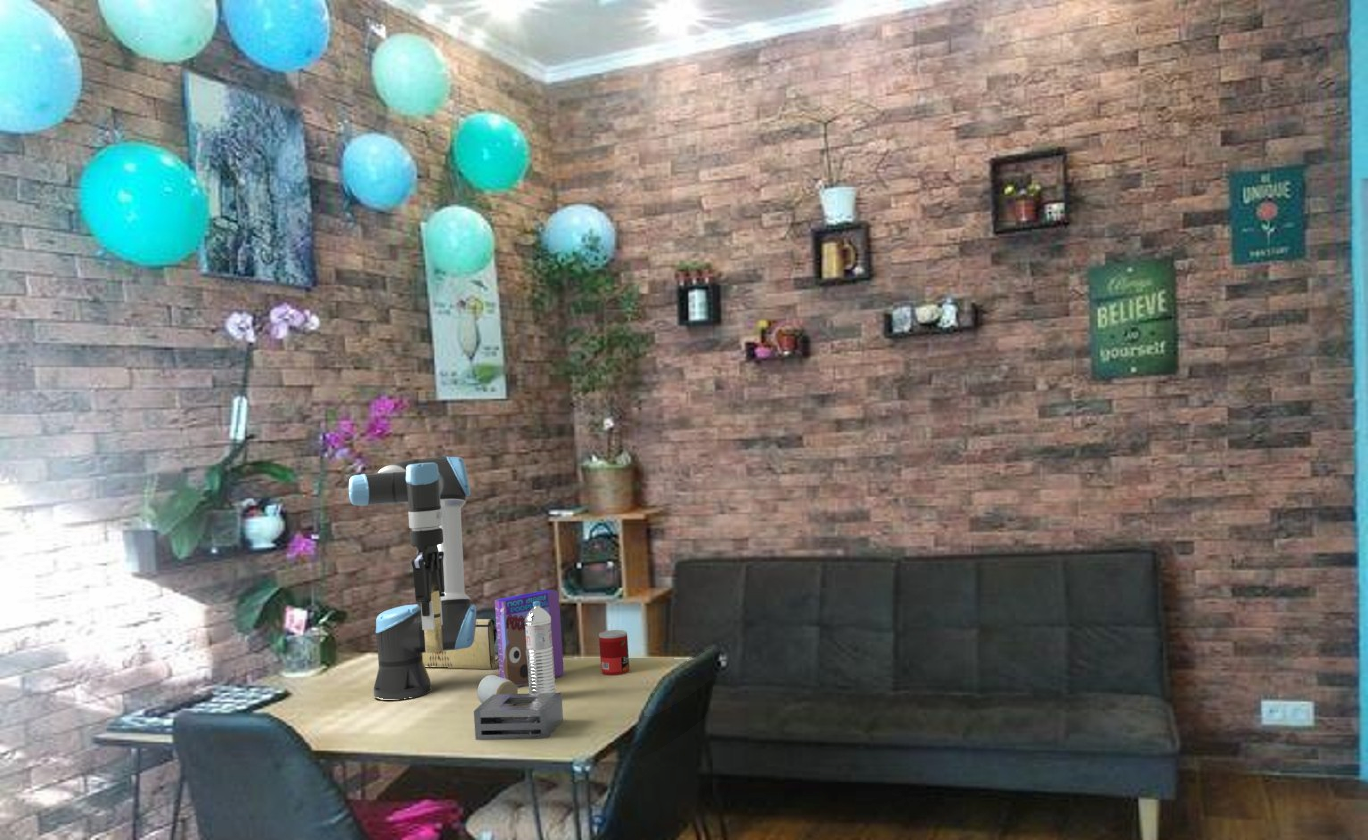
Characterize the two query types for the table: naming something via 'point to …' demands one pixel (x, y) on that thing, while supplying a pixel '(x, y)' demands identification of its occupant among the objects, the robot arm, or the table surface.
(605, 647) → the canned food
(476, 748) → the table surface
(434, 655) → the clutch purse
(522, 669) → the cereal box
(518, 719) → the collar stand
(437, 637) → the gold domed cylinder
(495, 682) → the ceramic mug
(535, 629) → the water bottle
